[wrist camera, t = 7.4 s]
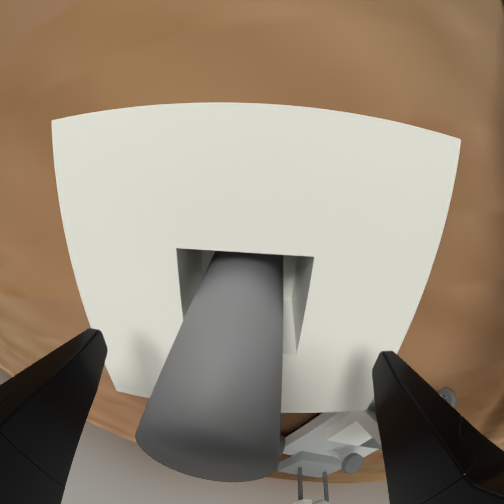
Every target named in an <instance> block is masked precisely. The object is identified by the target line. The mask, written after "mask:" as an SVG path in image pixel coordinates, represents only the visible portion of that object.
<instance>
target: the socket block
mask: <svg viewBox="0 0 504 504" xmlns="http://www.w3.org/2000/svg"><path fill="white" fill-rule="evenodd" d="M52 140H53V154H54V165H55V174H56V183H57V190H58V197H59V204H60V210H61V216H62V221H63V226H64V231H65V236H66V241H67V246H68V250H69V254H70V258H71V263H72V267H73V270H74V274H75V278H76V282H77V285H78V289H79V292H80V295H81V299H82V302H83V305H84V308H85V311H86V314H87V317H88V320H89V323H90V326H91V328H94V329H99V330H101V332H102V334H103V337H104V339H105V342H106V345H107V349H108V352H107V356H106V360H105V365H106V368H107V370H108V372H109V375H110V377H111V379H112V381H113V384H114V386H115V388H116V390H117V391H119V392H123V393H128V394H132V395H137V396H141V397H146V398H150V397H151V394H152V392H153V389H154V387H155V385H156V382H157V380H158V377H159V375H160V373H161V370H162V368H163V366H164V363H165V361H166V359H167V357H168V354H169V352H170V350H171V347H172V345H173V343H174V340H175V338H176V336H177V334H178V331H179V329H180V327H181V325H182V322H183V320H184V318H185V316H186V314H187V311H188V309H189V307H190V305H191V302H192V300H193V298H194V296H195V294H196V292H197V289H198V287H199V285H200V283H201V281H202V279H203V276H204V274H205V272H206V270H207V268H208V266H209V264H210V261H211V259H212V257H213V255H214V253H215V251H230V252H246V253H262V254H278V255H283V361H282V396H281V413H324V412H346V411H360V410H367V408H368V407H369V405H370V403H371V401H372V400H373V398H374V390H373V380H372V369H373V366H374V364H375V362H376V360H377V357H378V355H379V353H380V352H381V351H393V352H395V353H396V354H397V352H398V350H399V348H400V346H401V344H402V342H403V339H404V337H405V335H406V333H407V331H408V328H409V326H410V324H411V321H412V319H413V317H414V314H415V312H416V309H417V307H418V304H419V302H420V299H421V296H422V294H423V291H424V288H425V286H426V283H427V280H428V277H429V274H430V271H431V268H432V265H433V262H434V259H435V256H436V253H437V250H438V246H439V243H440V239H441V236H442V232H443V229H444V225H445V221H446V217H447V213H448V209H449V205H450V200H451V196H452V191H453V186H454V181H455V176H456V170H457V164H458V158H459V152H460V145H461V139H458V138H455V137H451V136H448V135H445V134H441V133H438V132H434V131H431V130H427V129H423V128H420V127H416V126H412V125H408V124H403V123H399V122H394V121H390V120H385V119H380V118H375V117H370V116H365V115H359V114H353V113H347V112H340V111H333V110H326V109H318V108H309V107H299V106H288V105H275V104H257V103H180V104H163V105H150V106H139V107H130V108H121V109H113V110H106V111H99V112H93V113H87V114H81V115H76V116H71V117H66V118H61V119H56V120H52Z"/></svg>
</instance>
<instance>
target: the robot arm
mask: <svg viewBox="0 0 504 504" xmlns="http://www.w3.org/2000/svg"><path fill="white" fill-rule="evenodd" d="M107 352H108V349H107V345H106V342H105V339H104V337H103V334H102V332H101V330H99V329H94V328H89V329H87V330H86V331H84V332H82V333H81V334H79V335H78V336H76V337H74V338H73V339H71V340H70V341H68V342H66V343H65V344H63V345H62V346H60V347H59V348H57V349H55V350H54V351H52V352H51V353H49V354H48V355H46V356H45V357H43V358H41V359H40V360H38V361H37V362H35V363H34V364H32V365H31V366H29V367H27V368H26V369H24V370H23V371H21V372H20V373H18V374H17V375H15V376H14V377H12V378H10V379H9V380H8V381H6V382H4V383H3V384H1V385H0V504H61V501H62V497H63V493H64V489H65V485H66V481H67V478H68V474H69V471H70V468H71V464H72V461H73V458H74V455H75V451H76V448H77V445H78V442H79V439H80V436H81V433H82V430H83V427H84V425H85V422H86V419H87V416H88V413H89V411H90V408H91V405H92V403H93V400H94V397H95V395H96V392H97V389H98V385H99V381H100V378H101V374H102V370H103V367H104V363H105V360H106V356H107ZM372 380H373V390H374V401H375V412H376V419H377V424H378V429H379V435H380V440H381V446H382V452H383V458H384V464H385V471H386V478H387V484H388V492H389V501H390V504H504V451H502V450H501V449H500V448H499V447H497V446H496V445H495V444H494V443H492V442H491V441H490V440H488V439H487V438H486V437H485V436H484V435H482V434H481V433H480V432H479V431H478V430H477V429H475V428H474V427H473V426H472V425H471V424H470V423H469V422H468V421H467V420H466V419H465V418H464V417H463V416H461V415H460V413H458V412H457V411H456V410H455V409H454V408H453V407H452V406H451V405H450V404H449V403H448V402H447V401H446V400H445V399H444V398H443V397H442V396H441V395H440V394H439V393H438V392H436V391H435V390H434V389H433V388H432V387H431V386H430V385H429V384H428V383H427V382H426V381H425V380H424V379H423V378H422V377H421V376H420V375H418V374H417V373H416V372H415V371H414V370H413V369H412V368H411V367H410V366H409V365H408V364H407V363H406V362H404V361H403V360H402V359H401V358H400V357H399V356H398V355H397V354H396V353H395V352H393V351H381V352H380V353H379V355H378V357H377V360H376V362H375V364H374V366H373V369H372Z"/></svg>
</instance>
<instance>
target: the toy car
mask: <svg viewBox="0 0 504 504" xmlns="http://www.w3.org/2000/svg"><path fill="white" fill-rule="evenodd" d="M438 393H439V394H440V395H441V396H442V397H443V398H444V399H445V400H446V401H447V402H448V403H449V404H450V405H451V406H452V407H453V408H455V405H456V395H455V393H454V391H452V390H451V389H449V388H443V389H442V390H440V391H439V392H438ZM444 396H445V397H444ZM378 449H382V446H381V440H380V435H379V429H378V424H377V419H376V412H375V401H374V398H373V400H372V401H371V403H370V405H369V407H368V408H367V410H360V411H346V412H324V413H322V414H320V415H319V416H317V417H316V418H315V419H313V420H312V421H310V422H309V423H307V424H306V425H304V426H303V427H301V428H300V429H298V430H296V431H295V432H293V433H292V434H290V435H288V436H287V437H284V436H283V434H280V445H279V457H280V456H281V455H282V453H283V454H287V455H292V456H291V457H289V458H287V459H285V460H283V461H281V462H279V463H278V467H277V471H278V472H283V473H289V474H296V475H298V501H296V502H293V503H290V504H331V502H330V501H329V499H328V484H327V475H329V474H332V473H334V472H336V471H338V470H340V469H342V470H343V471H345V472H346V473H349V474H352V473H354V472H356V471H358V470H359V469H360V468H361V466H362V464H363V462H364V457H365V456H367V455H369V454H371V453H372V452H374V451H376V450H378ZM302 476H310V477H318V478H323V482H324V497H325V499H324V500H319V501H316V502H313V503H312V500H307V499H303V491H302V490H303V489H302Z"/></svg>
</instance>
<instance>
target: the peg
mask: <svg viewBox="0 0 504 504" xmlns="http://www.w3.org/2000/svg"><path fill="white" fill-rule="evenodd" d="M282 361H283V255H278V254H262V253H246V252H230V251H215V253H214V255H213V257H212V259H211V261H210V264H209V266H208V268H207V270H206V272H205V274H204V276H203V279H202V281H201V283H200V285H199V287H198V289H197V292H196V294H195V296H194V298H193V300H192V302H191V305H190V307H189V309H188V311H187V314H186V316H185V318H184V320H183V322H182V325H181V327H180V329H179V331H178V334H177V336H176V338H175V340H174V343H173V345H172V347H171V350H170V352H169V354H168V357H167V359H166V361H165V363H164V366H163V368H162V370H161V373H160V375H159V377H158V380H157V382H156V385H155V387H154V389H153V392H152V394H151V397H150V399H149V401H148V404H147V406H146V409H145V411H144V413H143V416H142V418H141V421H140V423H139V426H138V428H137V431H136V434H135V437H136V441H137V443H138V444H139V446H140V447H141V448H142V450H143V451H144V452H145V453H147V454H148V455H149V456H150V457H152V458H153V459H155V460H156V461H158V462H159V463H161V464H163V465H165V466H167V467H169V468H171V469H173V470H176V471H178V472H181V473H184V474H187V475H190V476H194V477H197V478H202V479H207V480H213V481H222V482H244V481H252V480H257V479H261V478H264V477H266V476H269V475H270V474H272V473H273V472H274V471H275V470H276V469H277V467H278V463H279V445H280V423H281V396H282Z"/></svg>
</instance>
